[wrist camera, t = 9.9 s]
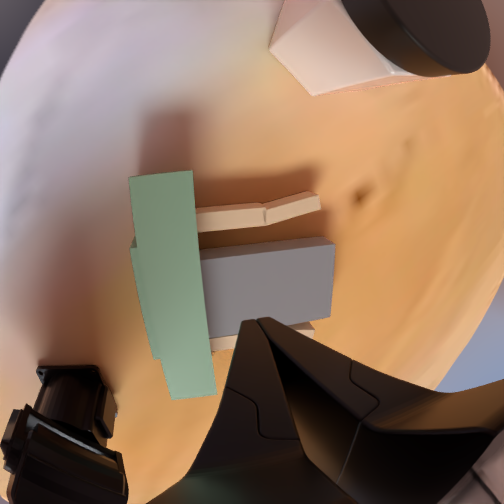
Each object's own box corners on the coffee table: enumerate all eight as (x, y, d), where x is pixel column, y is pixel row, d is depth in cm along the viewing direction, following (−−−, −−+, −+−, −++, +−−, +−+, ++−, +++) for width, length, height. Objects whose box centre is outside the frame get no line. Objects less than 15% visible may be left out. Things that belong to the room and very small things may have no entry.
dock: (164, 369, 24) (165, 400, 21) (130, 173, 19) (119, 179, 15) (304, 348, 27) (320, 373, 23) (310, 160, 21) (334, 164, 18)
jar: (390, 64, 20) (509, 43, 9) (329, 121, 20) (457, 115, 9) (318, -18, 16) (411, -90, 5) (243, 30, 17) (314, -66, 6)
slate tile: (173, 324, 23) (174, 342, 21) (161, 252, 21) (159, 265, 19) (317, 302, 26) (330, 316, 23) (320, 234, 24) (335, 244, 21)
